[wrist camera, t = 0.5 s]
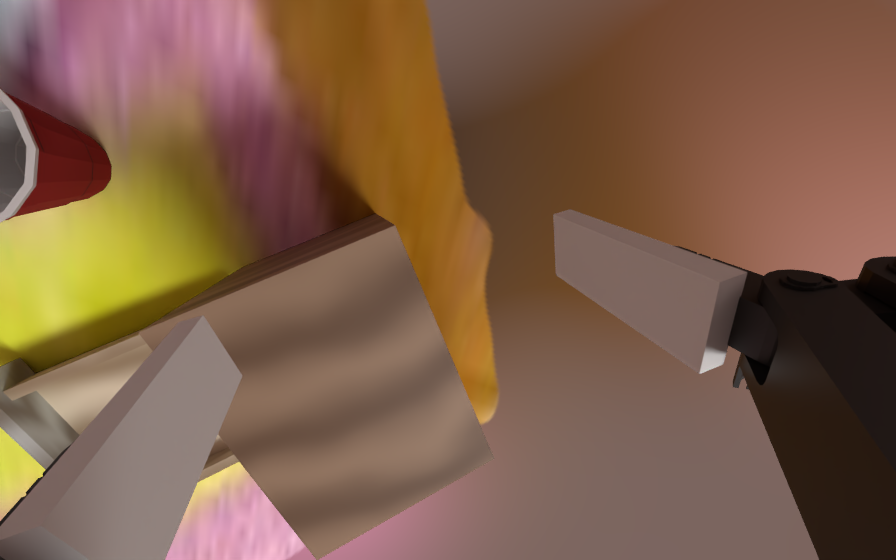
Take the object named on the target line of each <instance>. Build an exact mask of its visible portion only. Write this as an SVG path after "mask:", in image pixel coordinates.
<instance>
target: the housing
mask: <svg viewBox="0 0 896 560" xmlns="http://www.w3.org/2000/svg"><path fill="white" fill-rule="evenodd" d="M202 315H204V317H205V319H206V320H207V322H208V323H209V325H210V326H211V328H212V329H213V331H214V332H215V334H216V336H217V337H218V339H219V340H220V342H221V343H222V345H223V346H224V348H225V349H226V351H227V352H228V354H229V356H230V357H231V359H232V360H233V362H234V363H235V365H236V366H237V368H238V369H239V371H240V373H241V374H242V378H241V381H240V383H239V385H238V388H237V390H236V392H235V395H234V397H233V400H232V402H231V404H230V407H229V409H228V411H227V414H226V416H225V418H224V421H223V423H222V426H221V428H220V430H219V433H218V435H219V436H220V437H221V439H222V440H223V441H224V443H225V444H226V445H227V446H228V448H229V449H230V450H231V451H232V453H233V454H234V455H235V457H236V458H237V459H238V460H239V462H240V463H241V464H242V465H243V467H244V468H245V469H246V471H247V472H248V473H249V474H250V476H251V477H252V478H253V479H254V481H255V482H256V483H257V485H258V486H259V487H260V488H261V490H262V491H263V492H264V493H265V495H266V496H267V497H268V499H269V500H270V501H271V502H272V504H273V505H274V506H275V507H276V509H277V510H278V511H279V513H280V514H281V515H282V516H283V518H284V519H285V520H286V521H287V523H288V524H289V525H290V527H291V528H292V529H293V530H294V532H295V533H296V534H297V535H298V537H299V538H300V539H301V541H302V542H303V543H304V544H305V546H306V547H307V548H308V549H309V551H310V552H311V553H312V555H313V556H314V557H315V558H316V560H318V559H320V558H322V557H323V556H325V555H327V554H329V553H330V552H332V551H334V550H336V549H337V548H339V547H341V546H342V545H344V544H346V543H348V542H350V541H351V540H353V539H355V538H357V537H358V536H360V535H362V534H364V533H365V532H367V531H369V530H371V529H372V528H374V527H376V526H378V525H379V524H381V523H383V522H385V521H386V520H388V519H390V518H392V517H393V516H395V515H397V514H399V513H400V512H402V511H404V510H405V509H407V508H409V507H411V506H412V505H414V504H416V503H418V502H419V501H421V500H423V499H425V498H426V497H428V496H430V495H432V494H433V493H435V492H437V491H439V490H440V489H442V488H444V487H446V486H447V485H449V484H451V483H453V482H454V481H456V480H458V479H460V478H461V477H463V476H465V475H467V474H468V473H470V472H472V471H474V470H475V469H477V468H479V467H481V466H482V465H484V464H486V463H488V462H489V461H491V460H493V459H494V456H493V454H492V452H491V449H490V447H489V445H488V442H487V440H486V438H485V435H484V433H483V431H482V428H481V426H480V424H479V421H478V419H477V417H476V414H475V412H474V409H473V407H472V405H471V402H470V400H469V398H468V395H467V393H466V391H465V388H464V386H463V384H462V381H461V379H460V377H459V374H458V372H457V370H456V367H455V365H454V363H453V360H452V358H451V356H450V353H449V351H448V348H447V346H446V344H445V341H444V339H443V337H442V334H441V332H440V330H439V327H438V325H437V323H436V320H435V318H434V316H433V313H432V311H431V309H430V306H429V304H428V302H427V299H426V297H425V295H424V292H423V290H422V288H421V285H420V283H419V280H418V278H417V276H416V273H415V271H414V269H413V266H412V264H411V262H410V259H409V257H408V255H407V252H406V250H405V248H404V245H403V243H402V241H401V238H400V236H399V234H398V231H397V229H396V227H395V225H394V224H392V223H390V222H389V221H387V220H385V219H384V218H382V217H381V216H379V215H377V214H376V213H375V214H373V215H370V216H368V217H365V218H363V219H361V220H358V221H356V222H353V223H351V224H348V225H346V226H343V227H341V228H338V229H336V230H333V231H331V232H329V233H326V234H324V235H321V236H319V237H316V238H314V239H311V240H309V241H306V242H304V243H301V244H299V245H296V246H294V247H292V248H289V249H287V250H284V251H282V252H279V253H277V254H274V255H272V256H269V257H267V258H264V259H262V260H260V261H257V262H255V263H252V264H250V265H247V266H245V267H242V268H240V269H239V270H237V271H236V272H234V273H232V274H231V275H229V276H227V277H226V278H224V279H223V280H221V281H219V282H218V283H216V284H215V285H213V286H211V287H210V288H208V289H207V290H205V291H203V292H202V293H200V294H199V295H197V296H195V297H194V298H192V299H191V300H189V301H187V302H186V303H184V304H183V305H181V306H179V307H178V308H176V309H175V310H173V311H171V312H170V313H168V314H167V315H165V316H163V317H162V318H160V319H159V320H157V321H155V322H154V323H152V324H151V325H149V326H147V327H146V328H144V329H143V330H141V331H139V332H138V333H139V334H140V336H141V337H142V338H143V339H144V341H145V342H146V343H147V345H148V346H149V347H150V348H151V350H152V351H154V350H155V349H156V348H157V346H158V345H159V344H160V343H161V342H162V341H163V340H164V338H165V337H166V336H167V335H168V334H169V333H170V332H171V330H172V329H173V328H174V327H175V326H176V325H177V324H178V322H181V321H185V320H188V319H192V318H195V317H199V316H202Z"/></svg>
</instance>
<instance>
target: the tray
mask: <svg viewBox="0 0 896 560" xmlns="http://www.w3.org/2000/svg"><path fill="white" fill-rule="evenodd" d="M141 330H143V329H141ZM141 330H139V331H141ZM139 331H137V332H134V333H132V334H129V335H127V336H125V337H122V338H120V339H117V340H115V341H113V342H110V343H108V344H105V345H103V346H101V347H98V348H96V349H93V350H91V351H89V352H86V353H84V354H81V355H79V356H77V357H74V358H72V359H69V360H67V361H64V362H62V363H60V364H57V365H55V366H52V367H50V368H48V369H45V370H43V371H40V372H38V373H36V374H35V373H34V372H33V371H32V370H31V369H30V368H29V367H28V366H27V364H26V363H25V362H24V361H23V360H22V359H21V358H19V359H16V360H14V361H11V362H9V363H7V364H4V365H2V366H0V427H1V428H2V429H3V430H4V431H5V432H6V433H7V434H8V435H9V436H10V437H11V438H13V439H14V440H15V441H16V442H17V443H18V444H19V445H20V446H21V447H22V448H23V449H24V450H25V451H26V452H28V453H29V454H30V455H31V456H32V457H33V458H34V459H35V460H36V461H37V462H38V463H39V464H40V465H41V466H42V467H44V468H45V469H47V468H48V467H49V466H50V465H51V464H52V462H53V461H54V460H55V459H56V458H57V457H58V456H59V454H60V453H61V452H62V451H63V450H65V449H66V448H67V447H68V446H69V445H71V444H72V443H73V442H74V441H75V440H76V439H77V438H78V437H79V436H80V435H81V433H82V432H83V431H84V430H85V429H86V428H87V427H88V425H89V424H90V423H91V422H92V421H93V420H94V419H95V417H96V416H97V415H98V414H99V413H100V412H101V411H102V409H103V408H104V407H105V406H106V405H107V404H108V402H109V401H110V400H111V399H112V398H113V397H114V396H115V394H116V393H117V392H118V391H119V390H120V389H121V388H122V386H123V385H124V384H125V383H126V382H127V381H128V380H129V378H130V377H131V376H132V375H133V374H134V373H135V372H136V370H137V369H138V368H139V367H140V366H141V365H142V364H143V362H144V361H145V360H146V359H147V358H148V357H149V356H150V354H151V353H152V352H153V351H152V350H151V348H150V347H149V346H148V345H147V343H146V342H145V341H144V339H143V338H142V337H141V336H140V334H139V333H138V332H139ZM237 462H239V460H238V459H237V458H236V457H235V455H234V454H233V453H232V451H231V450H230V449H229V448H228V446H227V445H226V444H225V443H224V441H223V440H222V439H221V437H220V436H219V435H217V437H216V440H215V442H214V445H213V447H212V449H211V452H210V454H209V456H208V459H207V461H206V463H205V466H204V468H203V471H202V473H201V475H200V478H199V480H198V482H199V481H201V480H203V479H205V478H207V477H209V476H211V475H213V474H215V473H217V472H219V471H221V470H223V469H225V468H227V467H229V466H231V465H233V464H235V463H237Z"/></svg>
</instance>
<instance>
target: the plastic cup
mask: <svg viewBox="0 0 896 560" xmlns="http://www.w3.org/2000/svg"><path fill="white" fill-rule="evenodd" d="M110 179H111V164H110V161H109V159H108V156H107V154H106V152H105V151H104V150H103V149H102V148H101V147H100V146H99V144H98V143H97V142H96V141H95V140H93V139H92V138H91V137H89V136H88V135H86V134H84V133H83V132H81V131H79V130H77V129H76V128H74V127H72V126H70V125H68V124H65V123H63V122H61V121H59V120H57V119H56V118H54V117H52V116H51V115H49V114H47V113H45V112H43V111H41V110H39V109H37V108H35V107H33V106H31V105H29V104H27V103H25V102H23V101H21V100H19V99H17V98H15V97H13V96H11V95H9V94H7V93H5V92H4V91H3V90H2V89H1V88H0V222H2V221H4V220H9V219H11V218H13V217H15V216H20V215H24V214H28V213H33V212H37V211H41V210H46V209H50V208H54V207H59V206H63V205H67V204H69V203H70V202H74V201H79V200H84V199H88V198H90V197H92V196H93V195H95V194H97V193H99V192H100V191H102V190H104V189H105V187H106V186H107V184H108V183H109V181H110Z"/></svg>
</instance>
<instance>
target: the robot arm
mask: <svg viewBox="0 0 896 560" xmlns="http://www.w3.org/2000/svg"><path fill="white" fill-rule="evenodd" d="M554 238H555V263H556V275H557V276H558V277H560V278H561V279H563V280H564V281H566V282H567V283H568V284H570V285H571V286H573V287H574V288H576V289H577V290H579V291H580V292H581V293H583V294H584V295H586V296H587V297H589V298H590V299H592V300H593V301H595V302H596V303H598V304H599V305H600V306H602V307H603V308H605V309H606V310H608V311H609V312H610V313H612V314H613V315H615V316H616V317H618V318H619V319H621V320H622V321H623V322H625V323H626V324H628V325H629V326H631V327H633V328H634V329H635V330H636V331H638V332H639V333H641V334H642V335H644V336H645V337H647V338H648V339H650V340H651V341H652V342H654V343H655V344H657V345H658V346H660V347H661V348H663V349H664V350H665V351H667V352H669V353H670V354H671V355H673V356H674V357H676V358H677V359H679V360H680V361H681V362H683V363H684V364H686V365H687V366H689V367H690V368H692V369H693V370H694V371H696V372H697V373H699V374H701V373H703V372H706V371H708V370H710V369H713V368H715V367H718V366H720V365H722V364H723V363H724V359H725V356H726V352H727V348H728V345H729V346H731V347H732V348H734V349H736V350H738V351H740V352H741V355H740V358H739V361H738V365H737V368H736V372H735V376H734V379H733V387H735V388H738V387H739V384H740V381H741V380H742V379H743V378H745V380H746V383H747V387H746V389H749V390H750V392H751V395H752V397H753V400H754V402H755V405H756V407H757V409H758V412H759V414H760V417H761V419H762V421H763V424H764V426H765V429H766V431H767V433H768V436H769V439H770V441H771V443H772V446H773V448H774V451H775V453H776V456H777V458H778V460H779V463H780V465H781V468H782V470H783V472H784V475H785V477H786V479H787V482H788V485H789V487H790V489H791V492H792V494H793V497H794V499H795V502H796V504H797V506H798V509H799V511H800V514H801V516H802V518H803V521H804V523H805V526H806V528H807V531H808V533H809V535H810V538H811V540H812V543H813V545H814V548H815V550H816V552H817V555H818V557H819V560H896V257H878V258H872V259H870V260H868V261H866V262H865V264H864V266H863V268H862V271H861V273H860V275H859V277H858V279H853V280H844V281H838V280H836V279H834V278H832V277H830V276H826V275H823V274H819V273H814V272H809V271H802V270H776V271H773V272H769V273H767V274H766V275H765V276H762V275H760V274H757V273H754V272H751V271H748V270H745V269H742V268H740V267H737V266H734V265H731V264H728V263H725V262H722V261H720V260H717V259H711V258H710V257H708V256H705V255H702V254H697V253H696V252H694V251H691V250H688V249H685V248H682V247H678V246H672V245H669V244H666V243H664V242H661V241H658V240H655V239H652V238H649V237H647V236H644V235H641V234H638V233H635V232H633V231H630V230H627V229H624V228H621V227H618V226H615V225H613V224H610V223H607V222H604V221H601V220H599V219H596V218H593V217H590V216H587V215H584V214H582V213H579V212H576V211H573V210H567V211H563V212H560V213H557V214H554ZM241 378H242V374H241V373H240V371H239V369H238V368H237V366H236V365H235V363H234V362H233V360H232V359H231V357H230V356H229V354H228V352H227V351H226V349H225V348H224V346H223V345H222V343H221V342H220V340H219V339H218V337H217V336H216V334H215V332H214V331H213V329H212V328H211V326H210V325H209V323H208V322H207V320H206V319H205V317H204V315H202V316H199V317H195V318H192V319H188V320H185V321H181V322H178V324H177V325H176V326H175V327H174V328H173V329H172V330H171V332H170V333H169V334H168V335H167V336H166V337H165V338H164V340H163V341H162V342H161V343H160V344H159V345H158V346H157V348H156V349H155V350H154V351H153V352H152V353H151V354H150V356H149V357H148V358H147V359H146V360H145V361H144V362H143V364H142V365H141V366H140V367H139V368H138V369H137V370H136V372H135V373H134V374H133V375H132V376H131V377H130V378H129V380H128V381H127V382H126V383H125V384H124V385H123V386H122V388H121V389H120V390H119V391H118V392H117V393H116V394H115V396H114V397H113V398H112V399H111V400H110V401H109V402H108V404H107V405H106V406H105V407H104V408H103V409H102V411H101V412H100V413H99V414H98V415H97V416H96V417H95V419H94V420H93V421H92V422H91V423H90V424H89V425H88V427H87V428H86V429H85V430H84V431H83V432H82V433H81V435H80V436H79V437H78V438H77V439H76V440H75V441H74V442H73V443H72V444H71V445H69V446H68V447H67V448H66V449H65V450H63V451H62V452H61V453H60V454H59V456H58V457H57V458H56V459H55V460H54V461H53V462H52V464H51V465H50V466H49V467H48V468H47V469H46V470H45V471H44V473H43V477H41V478H38V479H37V480H36V482H35V483H34V484H33V485H32V486H31V487H30V488H29V490H28V491H27V492H26V496H25V497H22V498H21V499H20V500H19V501H18V502H17V503H16V504H15V505H14V506H13V508H12V509H11V510H10V511H9V512H8V513H7V514H6V516H5V517H4V518H3V519H2V520H1V521H0V560H165V558H166V556H167V553H168V551H169V549H170V546H171V544H172V542H173V539H174V537H175V534H176V532H177V530H178V527H179V525H180V523H181V520H182V518H183V515H184V513H185V511H186V508H187V506H188V504H189V501H190V499H191V497H192V494H193V492H194V489H195V487H196V485H197V482H198V480H199V478H200V475H201V473H202V471H203V468H204V466H205V463H206V461H207V459H208V456H209V454H210V452H211V449H212V447H213V445H214V442H215V440H216V437H217V435H218V433H219V430H220V428H221V426H222V423H223V421H224V418H225V416H226V414H227V411H228V409H229V407H230V404H231V402H232V400H233V397H234V395H235V392H236V390H237V388H238V385H239V383H240V381H241Z"/></svg>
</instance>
